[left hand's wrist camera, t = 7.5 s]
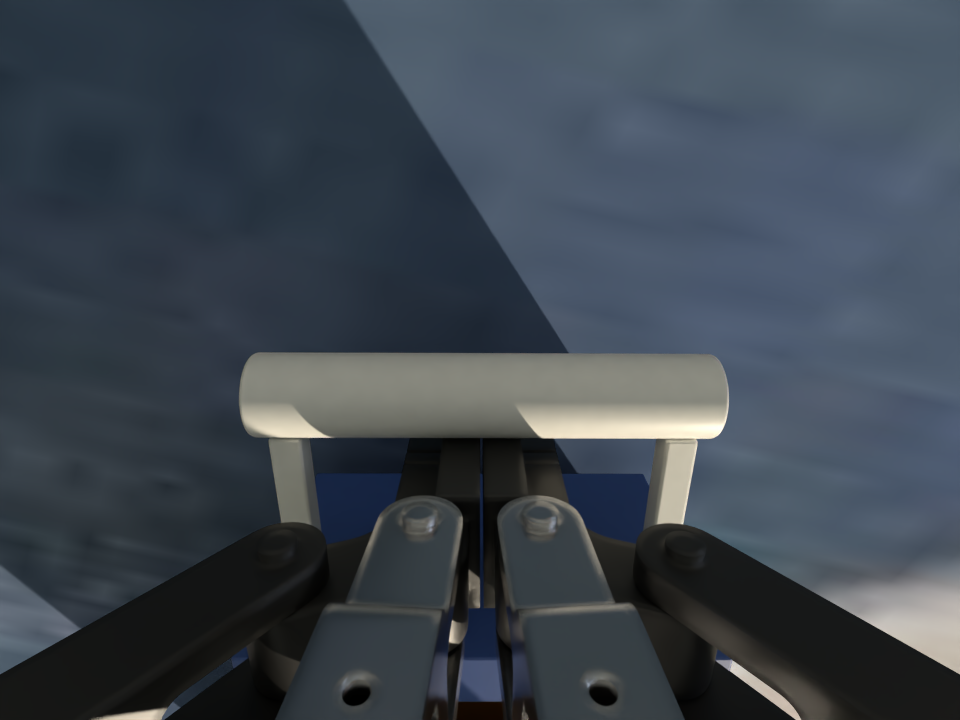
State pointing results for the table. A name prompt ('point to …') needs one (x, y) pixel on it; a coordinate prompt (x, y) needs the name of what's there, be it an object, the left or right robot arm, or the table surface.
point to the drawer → (482, 414)
